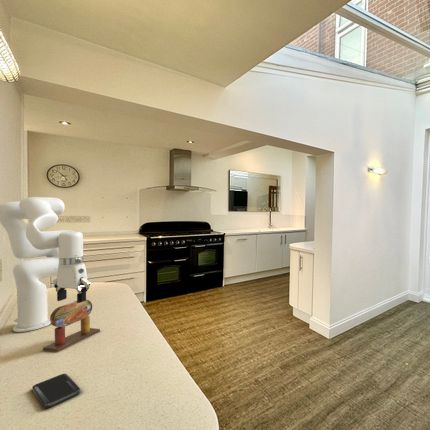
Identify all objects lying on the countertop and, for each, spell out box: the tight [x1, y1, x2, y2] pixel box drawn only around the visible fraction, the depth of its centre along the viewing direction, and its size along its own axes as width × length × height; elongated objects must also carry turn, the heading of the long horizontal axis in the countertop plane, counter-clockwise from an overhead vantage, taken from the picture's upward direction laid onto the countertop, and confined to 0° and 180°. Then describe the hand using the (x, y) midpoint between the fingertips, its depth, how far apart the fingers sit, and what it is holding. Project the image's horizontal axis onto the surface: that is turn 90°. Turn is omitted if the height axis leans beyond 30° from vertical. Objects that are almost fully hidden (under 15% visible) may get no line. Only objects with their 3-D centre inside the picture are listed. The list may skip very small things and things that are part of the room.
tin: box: [49, 299, 93, 328], centre depth 112 cm, size 15×3×8 cm, turn 172°
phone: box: [32, 373, 81, 409], centre depth 82 cm, size 8×1×15 cm
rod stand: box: [42, 315, 101, 353], centre depth 112 cm, size 7×17×8 cm, turn 172°
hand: (71, 300), depth 112 cm, fingers open, 9 cm apart
